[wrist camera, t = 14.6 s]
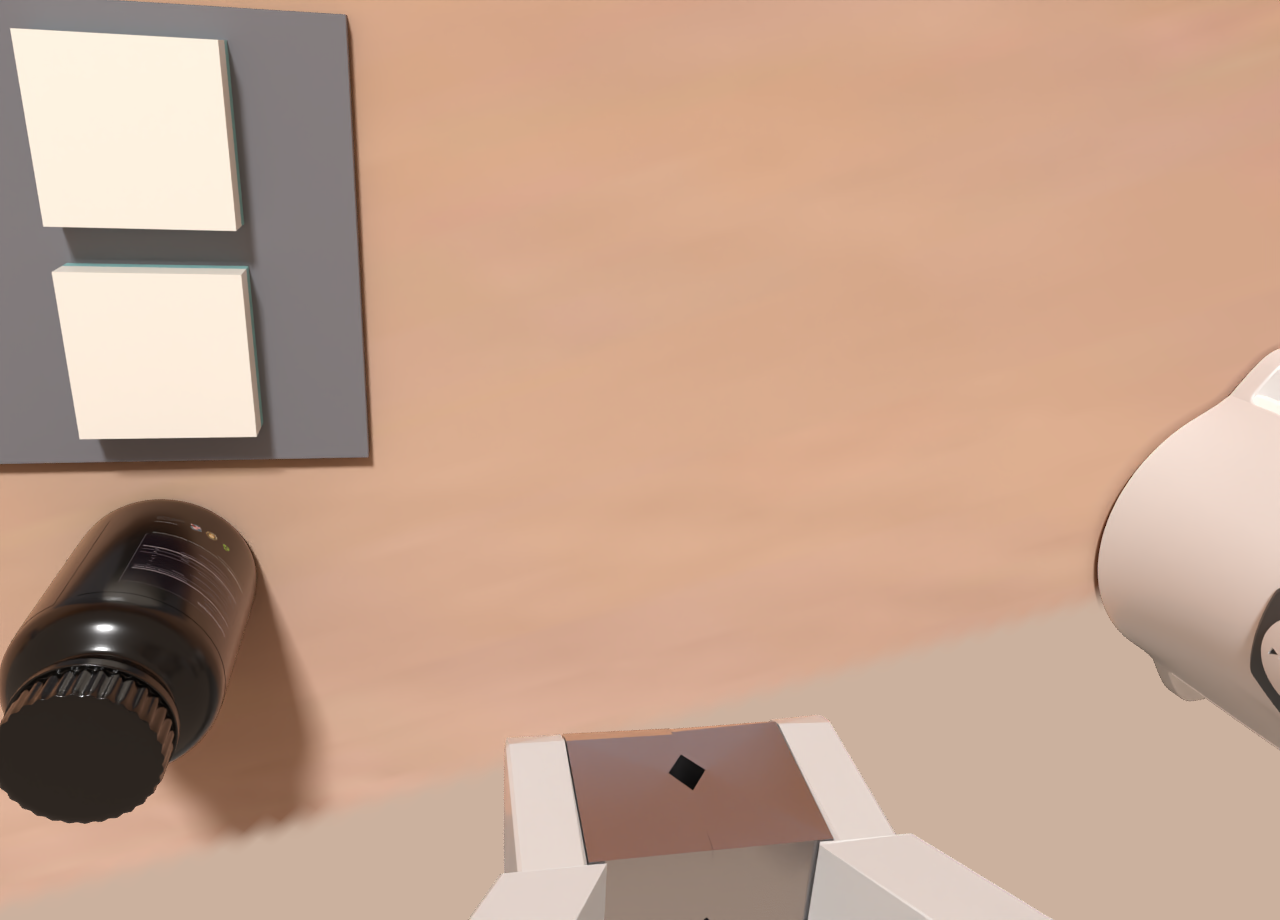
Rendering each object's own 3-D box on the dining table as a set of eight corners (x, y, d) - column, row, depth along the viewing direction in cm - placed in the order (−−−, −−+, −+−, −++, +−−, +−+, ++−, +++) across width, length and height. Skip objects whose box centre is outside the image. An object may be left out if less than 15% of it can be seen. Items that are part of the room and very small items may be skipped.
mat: (346, 15, 34) (345, 14, 33) (369, 451, 40) (368, 457, 39) (-189, -19, 31) (-200, -20, 30) (-77, 459, 37) (-85, 465, 36)
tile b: (217, 40, 32) (10, 28, 31) (236, 231, 34) (43, 226, 33) (226, 40, 33) (28, 29, 32) (244, 223, 35) (59, 219, 34)
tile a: (241, 274, 35) (51, 272, 33) (256, 436, 37) (79, 439, 36) (248, 266, 36) (66, 263, 35) (263, 422, 38) (92, 424, 37)
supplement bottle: (196, 669, 42) (111, 887, 31) (43, 583, 40) (-107, 788, 29) (296, 556, 41) (245, 740, 30) (146, 459, 39) (30, 623, 28)
